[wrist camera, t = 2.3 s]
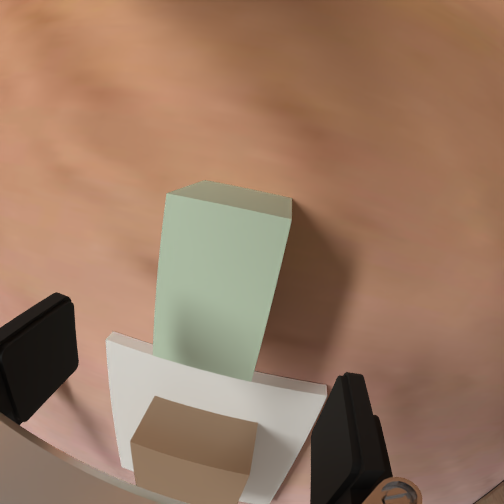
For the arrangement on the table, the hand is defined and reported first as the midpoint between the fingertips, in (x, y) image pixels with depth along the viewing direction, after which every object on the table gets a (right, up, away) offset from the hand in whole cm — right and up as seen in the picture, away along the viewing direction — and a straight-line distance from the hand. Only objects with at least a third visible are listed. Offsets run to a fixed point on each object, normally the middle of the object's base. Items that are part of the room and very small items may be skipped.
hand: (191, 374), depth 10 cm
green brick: (+1, +4, +9) cm, 10 cm away
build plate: (-2, -12, +15) cm, 19 cm away
